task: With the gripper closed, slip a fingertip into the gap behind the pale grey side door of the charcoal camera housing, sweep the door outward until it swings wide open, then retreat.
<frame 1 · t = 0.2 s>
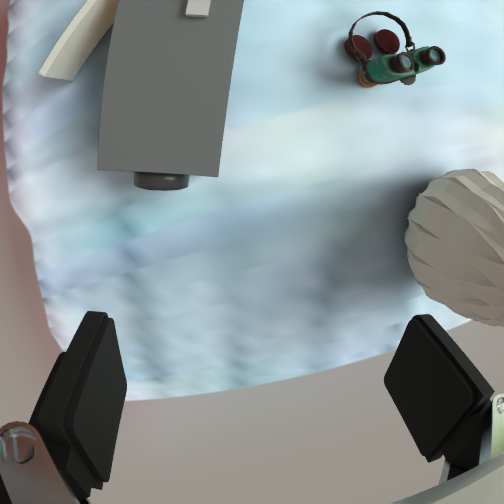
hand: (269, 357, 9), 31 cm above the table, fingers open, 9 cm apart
side door: (90, 22, 24), point 4 cm above the table, hinge at 30.0°
binoculars: (370, 52, 32), on the table
vase: (437, 220, 43), on the table
camera housing: (178, 70, 31), on the table
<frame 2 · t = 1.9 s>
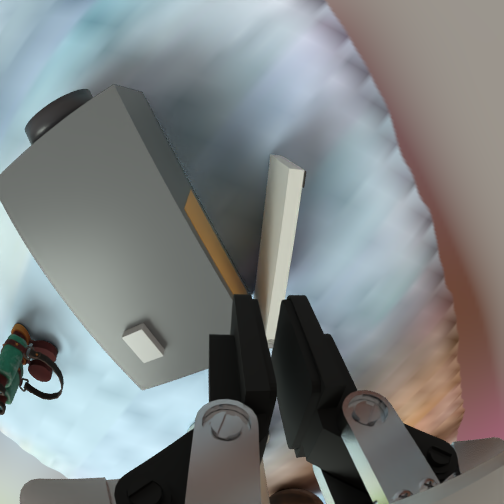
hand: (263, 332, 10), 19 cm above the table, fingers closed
side door: (278, 250, 26), point 4 cm above the table, hinge at 30.0°
binoculars: (40, 351, 33), on the table
camera housing: (142, 230, 28), on the table
wooden sphere: (286, 490, 56), on the table
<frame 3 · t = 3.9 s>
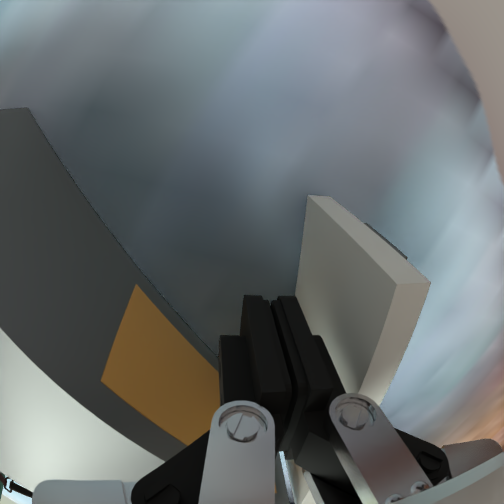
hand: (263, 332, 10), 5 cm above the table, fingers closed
side door: (325, 384, 13), point 4 cm above the table, hinge at 33.8°, touching gripper
binoculars: (17, 450, 21), on the table
camera housing: (82, 342, 15), on the table
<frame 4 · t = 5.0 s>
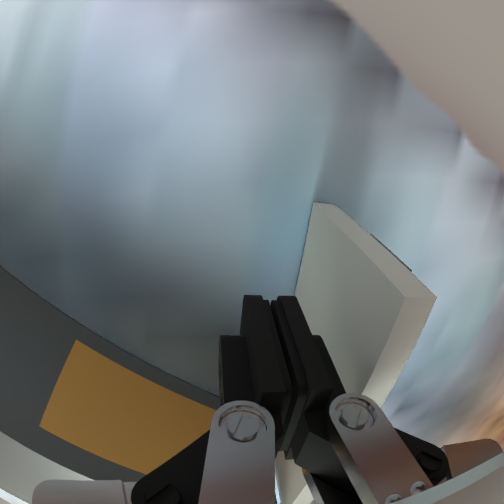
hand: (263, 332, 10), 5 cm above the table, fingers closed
side door: (319, 391, 13), point 4 cm above the table, hinge at 57.7°, touching gripper
camera housing: (75, 390, 17), on the table
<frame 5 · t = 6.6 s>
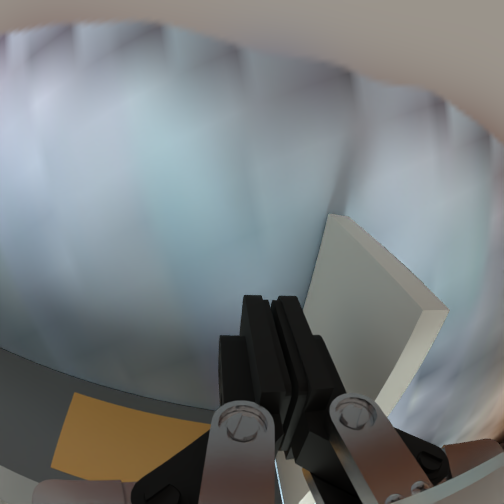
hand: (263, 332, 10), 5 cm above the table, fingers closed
side door: (327, 395, 13), point 4 cm above the table, hinge at 80.1°
camera housing: (102, 431, 19), on the table
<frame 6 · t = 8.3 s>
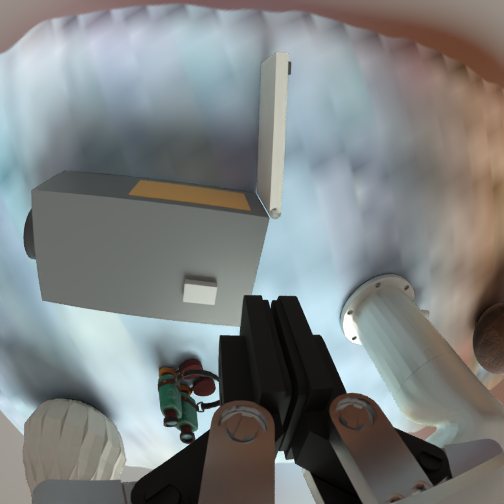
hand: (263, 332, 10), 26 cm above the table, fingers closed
side door: (274, 132, 28), point 4 cm above the table, hinge at 80.1°
binoculars: (192, 373, 46), on the table
vase: (81, 414, 48), on the table
camera housing: (150, 230, 35), on the table
wooden sphere: (484, 316, 52), on the table
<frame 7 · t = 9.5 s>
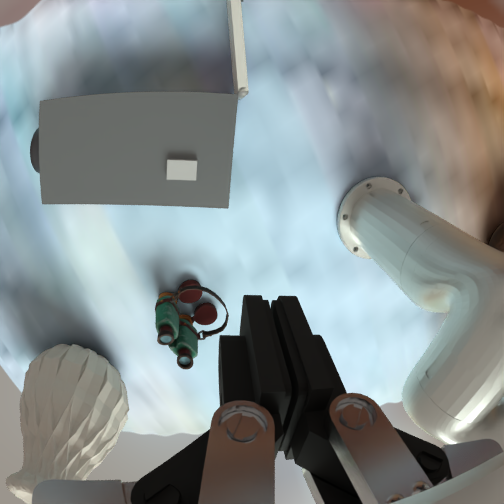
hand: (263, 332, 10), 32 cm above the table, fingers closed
side door: (239, 38, 29), point 4 cm above the table, hinge at 80.1°
binoculars: (192, 300, 47), on the table
vase: (86, 367, 51), on the table
camera housing: (143, 142, 36), on the table
wooden sphere: (496, 240, 50), on the table
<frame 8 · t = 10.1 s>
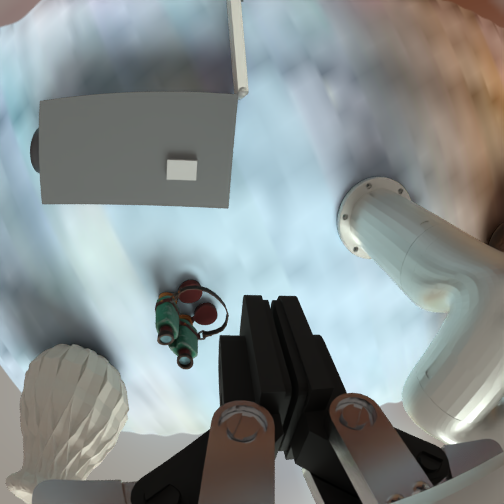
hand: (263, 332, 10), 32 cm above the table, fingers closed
side door: (239, 38, 29), point 4 cm above the table, hinge at 80.1°
binoculars: (192, 300, 47), on the table
vase: (86, 367, 51), on the table
camera housing: (143, 142, 36), on the table
wooden sphere: (496, 240, 50), on the table
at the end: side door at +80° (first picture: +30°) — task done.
